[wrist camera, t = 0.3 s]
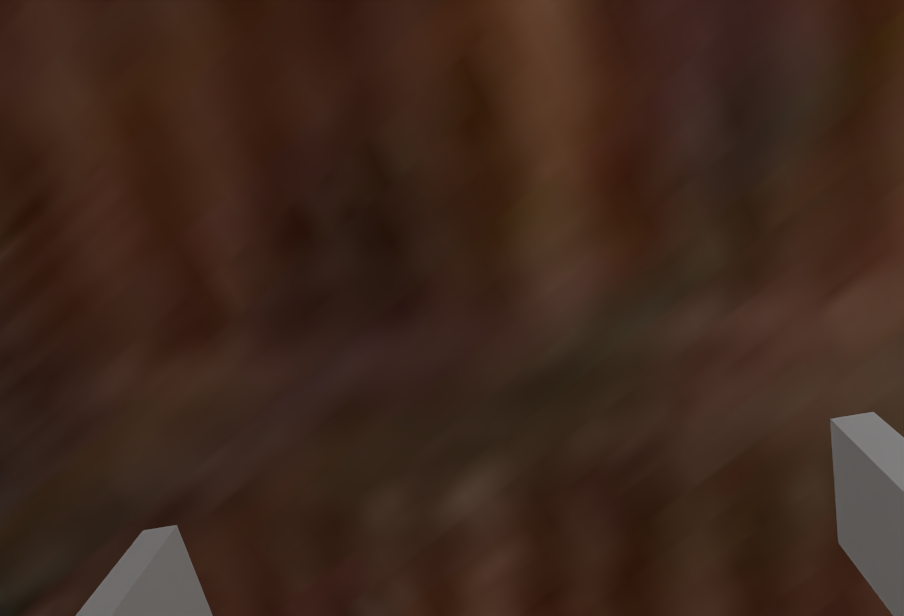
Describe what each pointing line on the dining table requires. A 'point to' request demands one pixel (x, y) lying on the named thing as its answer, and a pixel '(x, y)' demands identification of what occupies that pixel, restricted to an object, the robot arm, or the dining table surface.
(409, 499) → the dining table surface
